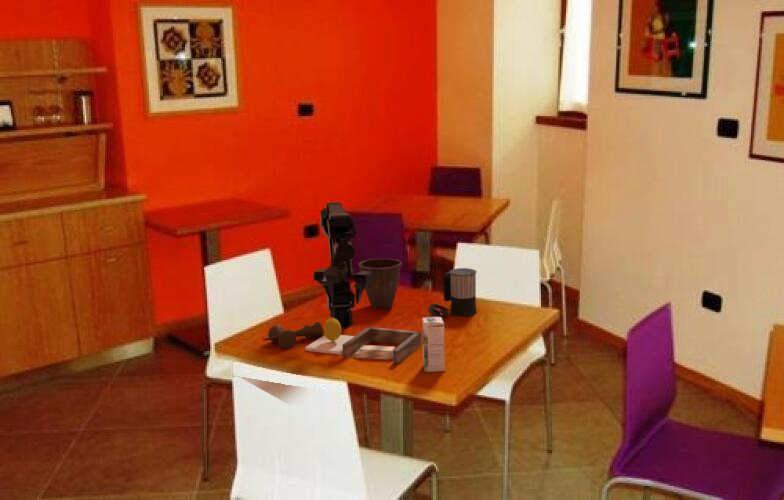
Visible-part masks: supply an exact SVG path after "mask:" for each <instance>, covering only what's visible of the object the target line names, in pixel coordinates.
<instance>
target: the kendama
mask: <svg viewBox="0 0 784 500" xmlns="http://www.w3.org/2000/svg"><path fill="white" fill-rule="evenodd" d="M323 335H324V328H323V325H322V324H321V322H319V321H315V322H314V323H313V324H311V325H307V324H305V325H304V326H303V327H302V328H299V329H296V330H295V331H294V330H291V329H286V330H285V329H284V326H282V325H279V324H275V325H272V326H271V327H270V328H269V330H268V332H267V336H268V337H266V338H263V339H262V341H271V342H273V343H278V346H279V347H280V348H281V349H283V350H286V349H287V350H288V349H291V348H292V347H294V346H295V345H296V343H297V337H298V338H300V337H302V338H303V337H305V338H307V339H311V338H312V337H317V338H321V337H322V336H323Z"/></svg>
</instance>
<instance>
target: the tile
mask: <svg viewBox="0 0 784 500" xmlns="http://www.w3.org/2000/svg"><path fill="white" fill-rule="evenodd" d="M354 336H355V335H345V334H341V335H340V337H339V338H338V339H337V340H335V341H334V342H332V341H331V340H328V339H327V338H326V337H325V335H324V334H323V335H322V336H321V337H318V339H316V340H315V341H312V343H310V344H308V345H307V346H305V347H304V349H305V351H307V352H314V353H322V354H323V353H325V354H331V355H343V346H342V345H343V344H344V343H346V342H347V341H349V340H350V339H352V338H353V337H354Z"/></svg>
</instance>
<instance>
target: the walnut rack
mask: <svg viewBox="0 0 784 500" xmlns="http://www.w3.org/2000/svg"><path fill="white" fill-rule="evenodd" d="M353 336H354V337H353V338H352V339H350V340H349V341H347V342H346V343H344V344H343V345H342V346H343V353H342V357H343V359H344V358H345V359H349V358H350V357H351V356H353V355H354V354H355V353H356V352H357V350H360V348H361V347H362V346H363V345H369V343H370V342H381V343H389V344H398V346H396V347H395V349H394V350H393V360H392V361H393V364H395V365H400V364H401V363H402V362H403V361H404V360H405V359H406V358H407V357H409V356H410V355H411V354H413V352H415V350H416V349H418V348H419V347H420V346H421V345H423V342H422V331H414V330H405V329H395V328H385V327H384V328H383V327H375V326H367V327H366V328H364V329H363V330H362V331H360V332H358V333H357V334H356V335H353Z"/></svg>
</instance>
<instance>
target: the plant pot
mask: <svg viewBox="0 0 784 500" xmlns="http://www.w3.org/2000/svg"><path fill="white" fill-rule="evenodd" d="M401 265H402V262H401V261H400V260H398V259H392V258H375V259H373V258H372V259H366V260H363V261H361V262H359V264H358V267H359V272H361V271H369V272H372V274H373V278H374V280H373V281H371V282H370V283H368V284H366V286H365V288H364V291H365V293H366V296H367V298H368V301H369V304H370V306H371V308H372V309H375V310H384V309H385V310H386V309H390V308H392V306H393V304H394V302H395V298H396V294H397V290H398V287H399V281H400V273H401Z"/></svg>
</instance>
